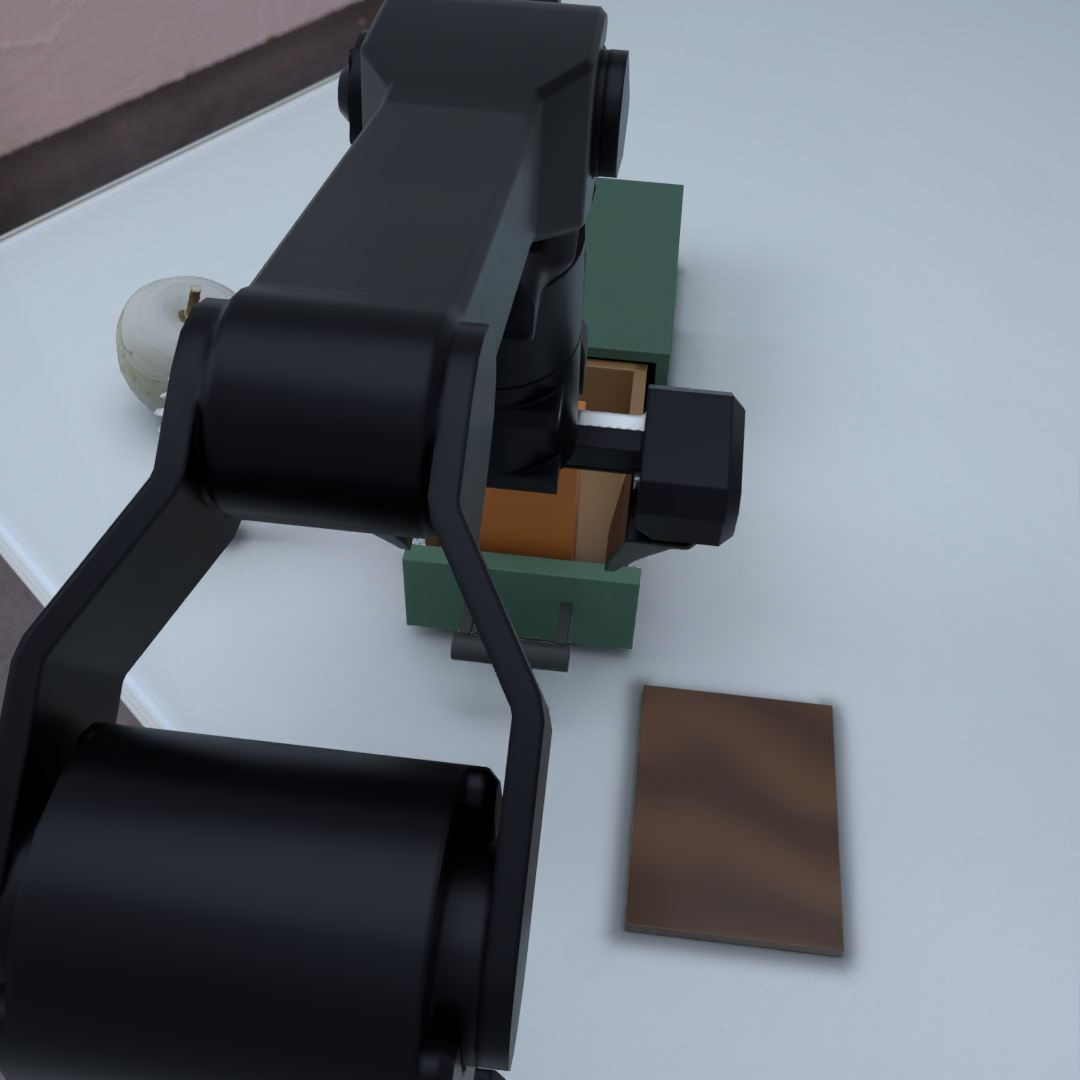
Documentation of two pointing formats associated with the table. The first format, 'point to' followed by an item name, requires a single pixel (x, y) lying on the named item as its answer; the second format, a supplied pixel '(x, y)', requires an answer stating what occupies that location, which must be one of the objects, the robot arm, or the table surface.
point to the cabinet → (632, 273)
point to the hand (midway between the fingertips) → (508, 551)
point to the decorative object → (158, 331)
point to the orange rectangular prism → (533, 519)
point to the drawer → (547, 563)
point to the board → (736, 822)
